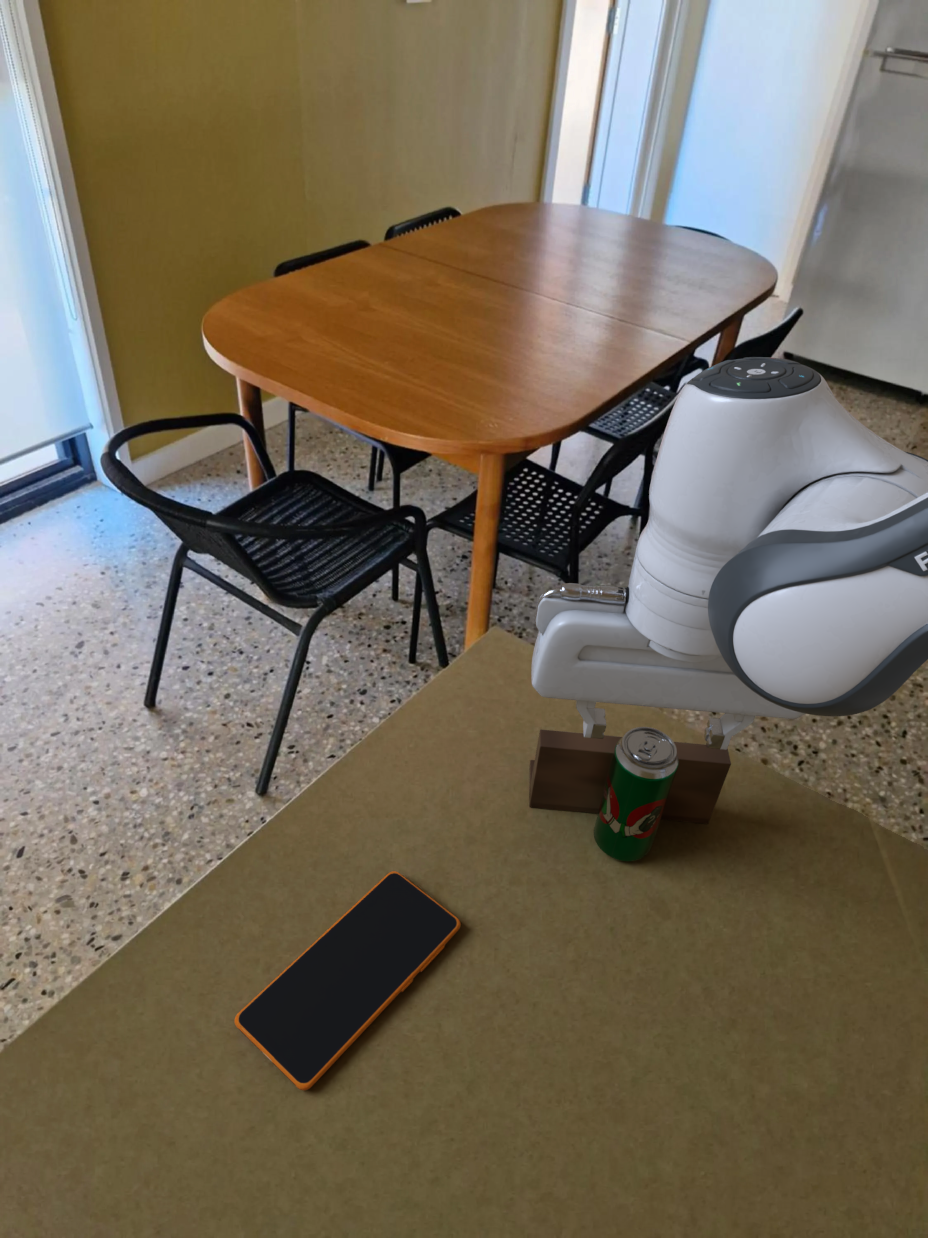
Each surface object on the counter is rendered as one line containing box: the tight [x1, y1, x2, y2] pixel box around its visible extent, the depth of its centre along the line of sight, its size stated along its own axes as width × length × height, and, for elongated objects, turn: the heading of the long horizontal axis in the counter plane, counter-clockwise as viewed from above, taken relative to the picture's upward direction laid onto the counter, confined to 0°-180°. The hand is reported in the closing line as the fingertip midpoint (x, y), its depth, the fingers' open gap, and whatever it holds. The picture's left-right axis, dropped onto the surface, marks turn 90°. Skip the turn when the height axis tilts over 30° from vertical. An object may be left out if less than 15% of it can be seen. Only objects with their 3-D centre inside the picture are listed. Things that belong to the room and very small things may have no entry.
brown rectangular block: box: [528, 729, 732, 825], centre depth 78 cm, size 16×5×8 cm, turn 86°
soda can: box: [593, 726, 679, 862], centre depth 73 cm, size 5×5×12 cm
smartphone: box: [234, 870, 462, 1091], centre depth 65 cm, size 8×17×1 cm, turn 141°
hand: (653, 737), depth 68 cm, fingers open, 8 cm apart
